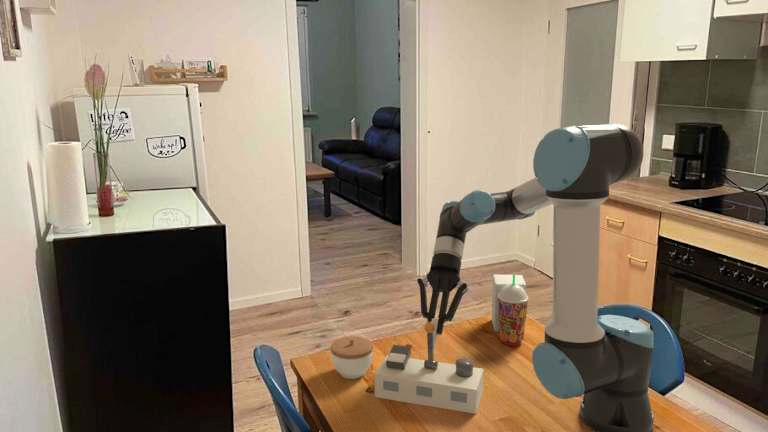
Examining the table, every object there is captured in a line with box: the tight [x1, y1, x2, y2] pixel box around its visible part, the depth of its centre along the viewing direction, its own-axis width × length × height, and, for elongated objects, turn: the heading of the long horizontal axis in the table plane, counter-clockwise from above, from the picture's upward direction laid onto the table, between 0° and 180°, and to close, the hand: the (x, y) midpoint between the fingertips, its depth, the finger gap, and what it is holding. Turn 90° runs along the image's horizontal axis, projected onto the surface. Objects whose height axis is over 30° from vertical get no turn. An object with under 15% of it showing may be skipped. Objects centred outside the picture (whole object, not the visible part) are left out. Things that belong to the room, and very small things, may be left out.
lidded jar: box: [330, 335, 374, 380], centre depth 150 cm, size 11×11×9 cm
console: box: [374, 354, 484, 415], centre depth 140 cm, size 24×10×6 cm, turn 72°
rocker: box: [386, 344, 412, 370], centre depth 143 cm, size 4×6×2 cm
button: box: [455, 357, 474, 377], centre depth 138 cm, size 4×4×3 cm
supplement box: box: [491, 274, 527, 332], centre depth 176 cm, size 9×9×15 cm
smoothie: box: [498, 274, 529, 347], centre depth 165 cm, size 8×8×20 cm
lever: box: [423, 321, 439, 369], centre depth 138 cm, size 3×3×13 cm
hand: (431, 346), depth 141 cm, fingers closed
